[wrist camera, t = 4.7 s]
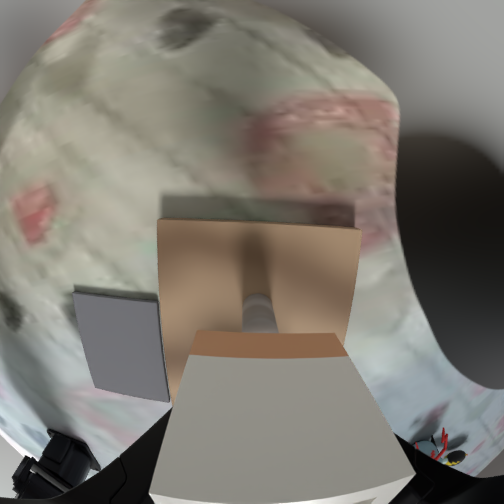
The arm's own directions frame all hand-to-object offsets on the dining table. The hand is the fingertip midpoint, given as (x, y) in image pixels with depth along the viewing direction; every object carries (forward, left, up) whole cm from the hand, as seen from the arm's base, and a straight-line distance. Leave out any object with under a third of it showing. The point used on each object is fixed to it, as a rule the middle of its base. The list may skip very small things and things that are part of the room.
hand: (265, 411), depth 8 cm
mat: (-5, +10, -10) cm, 15 cm away
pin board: (-5, 0, -10) cm, 11 cm away
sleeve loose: (0, 0, -1) cm, 1 cm away
